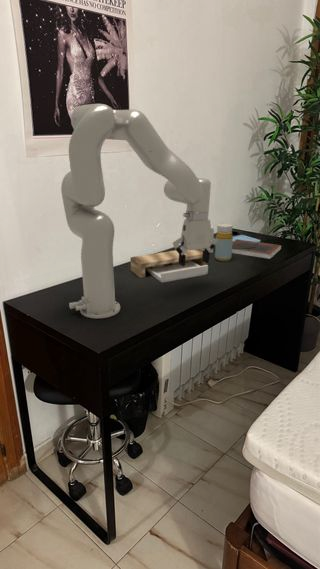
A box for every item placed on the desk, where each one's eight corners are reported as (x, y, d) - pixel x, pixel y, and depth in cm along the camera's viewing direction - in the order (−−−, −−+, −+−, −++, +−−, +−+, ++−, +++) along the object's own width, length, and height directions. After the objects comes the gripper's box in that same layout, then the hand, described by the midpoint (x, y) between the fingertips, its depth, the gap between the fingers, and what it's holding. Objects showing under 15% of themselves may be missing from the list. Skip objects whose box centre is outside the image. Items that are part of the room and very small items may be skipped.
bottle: (229, 262, 173) (231, 227, 168) (213, 260, 175) (215, 226, 170) (232, 257, 179) (234, 223, 174) (216, 256, 182) (218, 222, 176)
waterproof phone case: (261, 242, 203) (261, 240, 202) (243, 246, 197) (243, 244, 196) (242, 237, 213) (242, 234, 213) (224, 240, 207) (224, 238, 207)
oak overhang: (140, 277, 157) (140, 264, 155) (130, 270, 165) (130, 257, 163) (207, 266, 169) (207, 253, 167) (195, 259, 177) (195, 247, 175)
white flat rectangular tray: (162, 282, 152) (161, 273, 151) (146, 271, 164) (146, 262, 163) (207, 274, 160) (208, 265, 159) (189, 263, 172) (190, 255, 171)
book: (223, 252, 188) (269, 259, 178) (223, 247, 187) (270, 254, 177) (236, 243, 201) (280, 250, 191) (236, 238, 200) (281, 244, 190)
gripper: (180, 219, 133) (177, 269, 139) (224, 216, 141) (220, 264, 147) (169, 214, 140) (167, 263, 145) (212, 212, 147) (208, 258, 153)
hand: (193, 263), depth 146 cm, fingers open, 9 cm apart
